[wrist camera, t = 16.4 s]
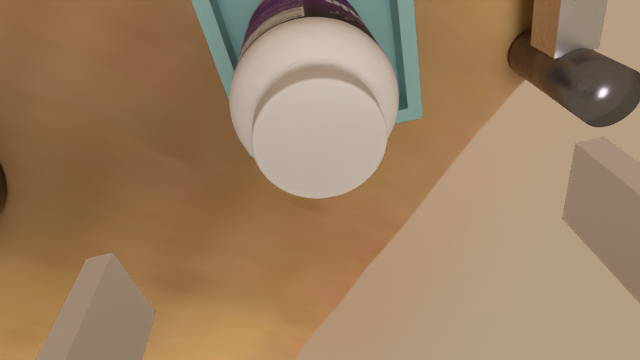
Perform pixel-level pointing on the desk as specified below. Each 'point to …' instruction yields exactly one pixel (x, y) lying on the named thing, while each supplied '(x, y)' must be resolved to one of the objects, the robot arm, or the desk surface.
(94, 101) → the desk surface
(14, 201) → the desk surface
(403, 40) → the tray
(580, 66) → the grey t-shaped piece
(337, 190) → the pill bottle
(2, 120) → the desk surface
